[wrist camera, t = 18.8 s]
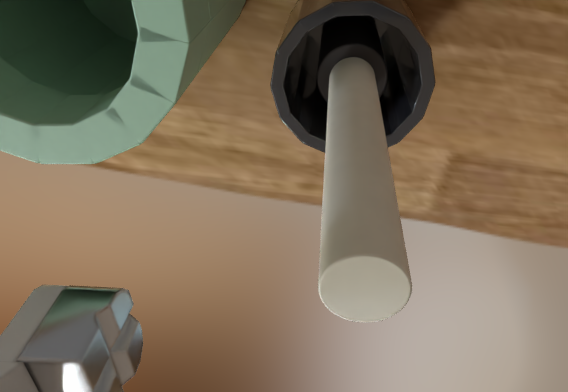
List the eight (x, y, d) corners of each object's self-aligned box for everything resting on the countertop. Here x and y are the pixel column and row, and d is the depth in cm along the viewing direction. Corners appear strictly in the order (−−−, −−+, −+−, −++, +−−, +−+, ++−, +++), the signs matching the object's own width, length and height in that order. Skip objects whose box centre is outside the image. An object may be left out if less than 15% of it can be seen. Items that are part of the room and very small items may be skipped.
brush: (320, 14, 23) (288, 231, 9) (380, 12, 23) (448, 233, 9) (321, 72, 25) (295, 337, 10) (378, 71, 24) (431, 343, 10)
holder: (283, -28, 23) (264, 4, 17) (417, -34, 22) (445, -3, 17) (289, 94, 26) (275, 156, 20) (407, 92, 26) (427, 156, 20)
